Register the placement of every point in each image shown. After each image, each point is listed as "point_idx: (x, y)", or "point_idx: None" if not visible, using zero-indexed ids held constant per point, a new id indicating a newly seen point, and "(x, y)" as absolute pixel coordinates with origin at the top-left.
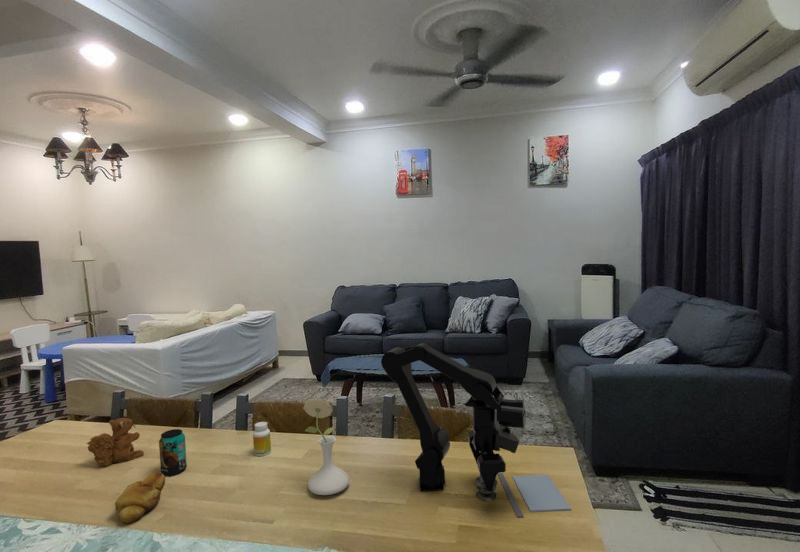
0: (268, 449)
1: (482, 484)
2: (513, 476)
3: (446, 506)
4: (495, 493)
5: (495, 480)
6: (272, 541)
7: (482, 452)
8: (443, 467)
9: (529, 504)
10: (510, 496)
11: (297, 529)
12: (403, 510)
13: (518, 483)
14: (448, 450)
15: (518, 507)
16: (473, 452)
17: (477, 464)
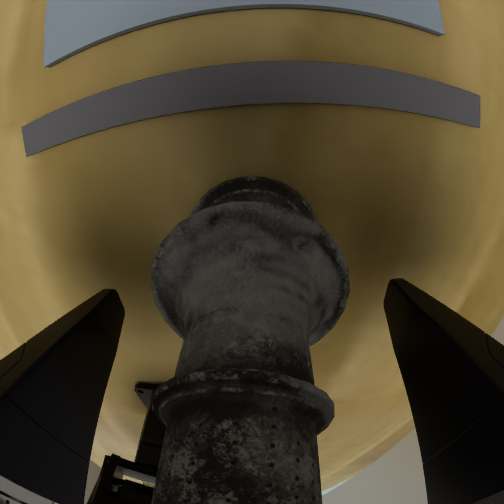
0: (153, 487)
1: (311, 336)
2: (46, 60)
3: (326, 385)
4: (242, 184)
5: (235, 223)
6: (346, 478)
7: (29, 442)
8: (160, 444)
9: (391, 6)
10: (290, 85)
11: (331, 476)
12: (319, 437)
13: (118, 19)
14: (127, 500)
15: (417, 81)
16: (82, 478)
17: (106, 386)
